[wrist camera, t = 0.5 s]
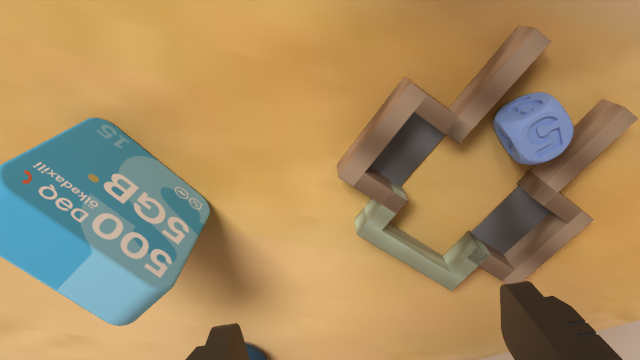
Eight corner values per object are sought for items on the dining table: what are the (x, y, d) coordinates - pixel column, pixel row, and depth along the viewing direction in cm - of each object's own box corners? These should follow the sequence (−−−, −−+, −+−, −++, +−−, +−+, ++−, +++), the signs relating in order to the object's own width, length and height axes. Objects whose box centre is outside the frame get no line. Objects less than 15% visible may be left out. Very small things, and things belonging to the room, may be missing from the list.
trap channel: (473, -14, 27) (488, -15, 25) (649, 139, 32) (674, 151, 29) (313, 194, 34) (313, 208, 32) (476, 293, 39) (486, 311, 37)
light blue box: (215, 205, 35) (167, 300, 24) (184, 234, 36) (126, 336, 25) (99, 111, 31) (-20, 173, 20) (70, 147, 32) (-57, 224, 21)
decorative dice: (505, 153, 32) (528, 172, 29) (486, 114, 31) (508, 130, 27) (551, 127, 31) (581, 144, 28) (534, 86, 30) (563, 99, 26)
